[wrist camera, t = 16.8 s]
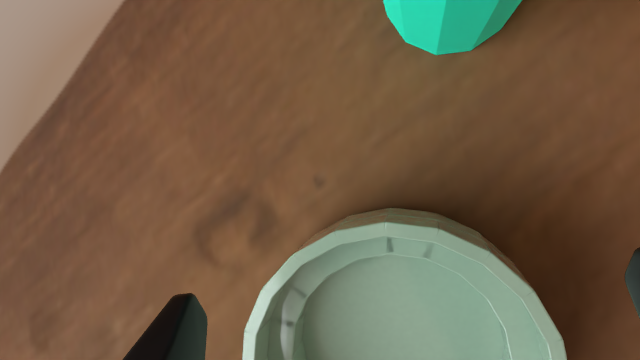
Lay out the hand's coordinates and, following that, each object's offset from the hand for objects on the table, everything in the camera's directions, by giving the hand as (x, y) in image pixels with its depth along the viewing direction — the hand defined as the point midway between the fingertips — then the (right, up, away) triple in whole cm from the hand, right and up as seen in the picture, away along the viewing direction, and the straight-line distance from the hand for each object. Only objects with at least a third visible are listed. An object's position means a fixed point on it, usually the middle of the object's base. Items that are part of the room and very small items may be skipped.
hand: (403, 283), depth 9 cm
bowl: (+2, -6, +13) cm, 15 cm away
